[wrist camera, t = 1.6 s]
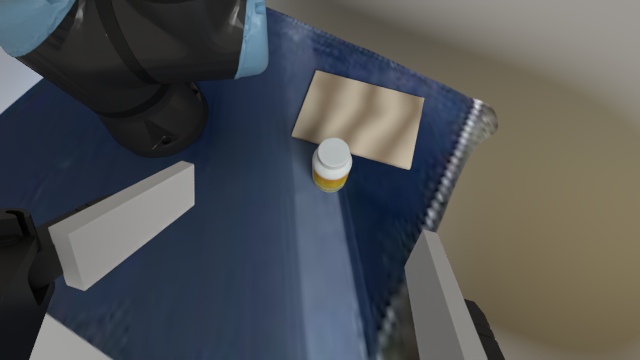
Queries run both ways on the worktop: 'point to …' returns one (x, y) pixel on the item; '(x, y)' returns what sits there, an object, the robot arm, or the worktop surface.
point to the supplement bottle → (331, 164)
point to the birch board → (361, 118)
